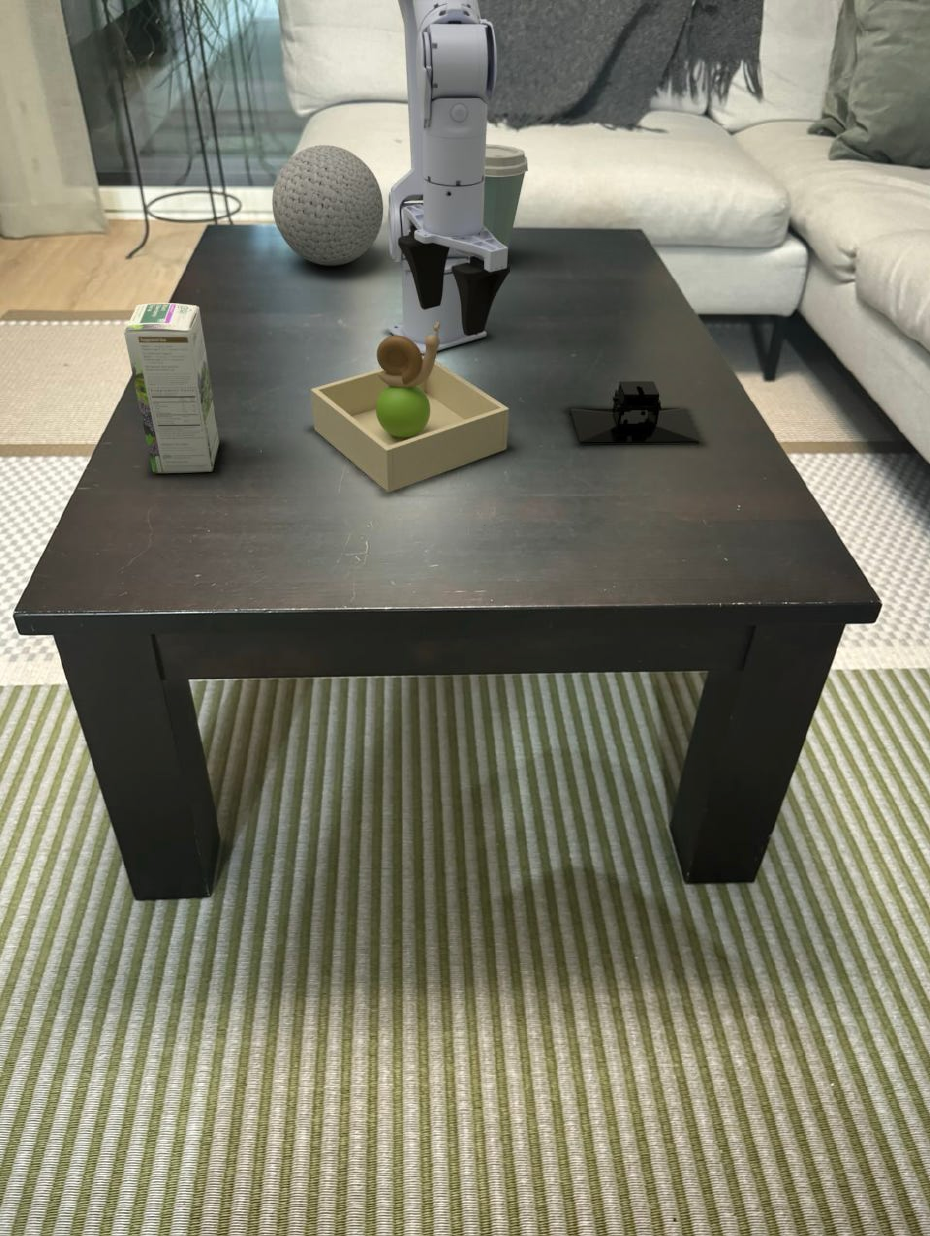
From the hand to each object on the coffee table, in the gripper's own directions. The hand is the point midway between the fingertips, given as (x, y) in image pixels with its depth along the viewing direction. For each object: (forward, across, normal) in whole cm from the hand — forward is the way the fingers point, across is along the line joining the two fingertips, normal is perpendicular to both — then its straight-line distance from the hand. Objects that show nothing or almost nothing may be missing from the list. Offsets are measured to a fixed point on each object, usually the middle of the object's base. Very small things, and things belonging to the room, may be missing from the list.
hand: (451, 319), depth 93 cm
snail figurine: (+9, +4, -8) cm, 13 cm away
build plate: (+10, +15, +13) cm, 22 cm away
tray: (+9, +4, -8) cm, 13 cm away
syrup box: (+10, -5, -28) cm, 30 cm away
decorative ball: (+10, -43, +10) cm, 45 cm away
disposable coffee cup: (+10, -32, +29) cm, 44 cm away
